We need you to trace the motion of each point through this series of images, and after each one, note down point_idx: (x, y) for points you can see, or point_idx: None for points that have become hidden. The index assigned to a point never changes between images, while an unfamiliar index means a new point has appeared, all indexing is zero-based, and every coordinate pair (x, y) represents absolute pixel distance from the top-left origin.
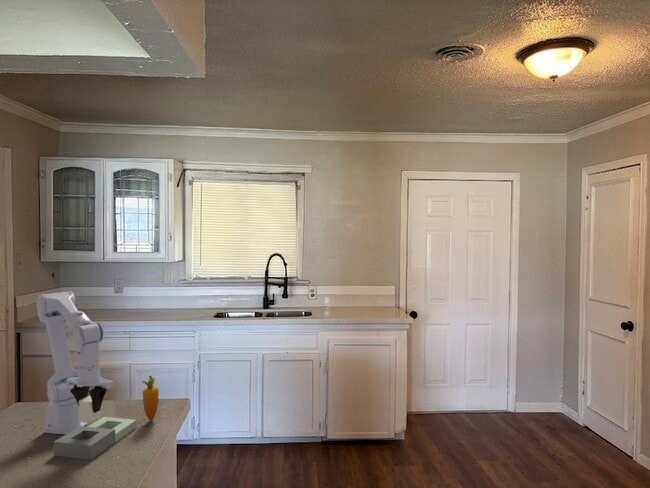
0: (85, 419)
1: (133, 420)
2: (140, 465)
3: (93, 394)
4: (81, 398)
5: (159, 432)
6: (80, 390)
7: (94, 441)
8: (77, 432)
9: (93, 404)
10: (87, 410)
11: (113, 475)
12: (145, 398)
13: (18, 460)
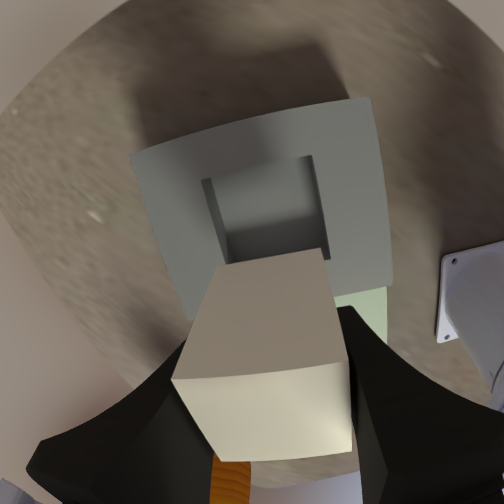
0: (263, 265)
1: None
2: (12, 211)
3: (74, 444)
4: (359, 401)
5: (141, 377)
6: (376, 491)
7: (154, 193)
8: (344, 226)
9: (170, 369)
10: (231, 311)
11: (20, 133)
12: (217, 482)
13: (444, 33)
